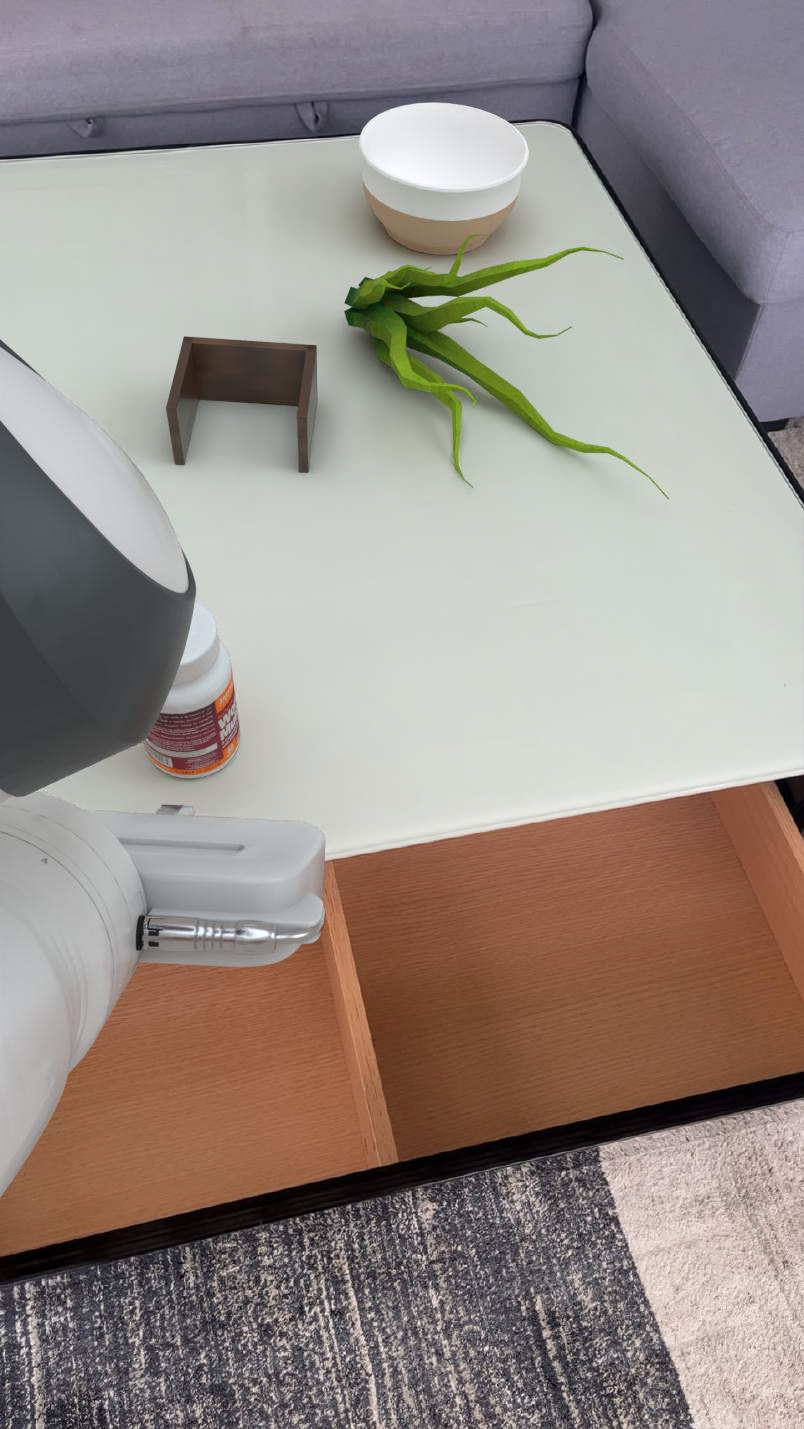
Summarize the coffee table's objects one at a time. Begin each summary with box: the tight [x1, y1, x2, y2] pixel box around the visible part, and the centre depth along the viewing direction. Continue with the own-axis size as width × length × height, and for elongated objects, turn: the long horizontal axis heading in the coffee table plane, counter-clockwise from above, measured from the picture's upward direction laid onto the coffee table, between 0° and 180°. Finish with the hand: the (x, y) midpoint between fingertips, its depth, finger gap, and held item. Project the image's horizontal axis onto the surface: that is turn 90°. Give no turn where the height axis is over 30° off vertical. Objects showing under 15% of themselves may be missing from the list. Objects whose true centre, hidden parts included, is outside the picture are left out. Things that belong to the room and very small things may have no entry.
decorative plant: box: [343, 234, 670, 500], centre depth 83 cm, size 18×30×15 cm, turn 18°
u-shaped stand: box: [165, 335, 318, 473], centre depth 84 cm, size 11×9×6 cm
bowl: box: [358, 102, 530, 256], centre depth 102 cm, size 16×16×8 cm
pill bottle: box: [143, 600, 241, 779], centre depth 64 cm, size 6×6×11 cm
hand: (110, 818), depth 48 cm, fingers open, 5 cm apart
